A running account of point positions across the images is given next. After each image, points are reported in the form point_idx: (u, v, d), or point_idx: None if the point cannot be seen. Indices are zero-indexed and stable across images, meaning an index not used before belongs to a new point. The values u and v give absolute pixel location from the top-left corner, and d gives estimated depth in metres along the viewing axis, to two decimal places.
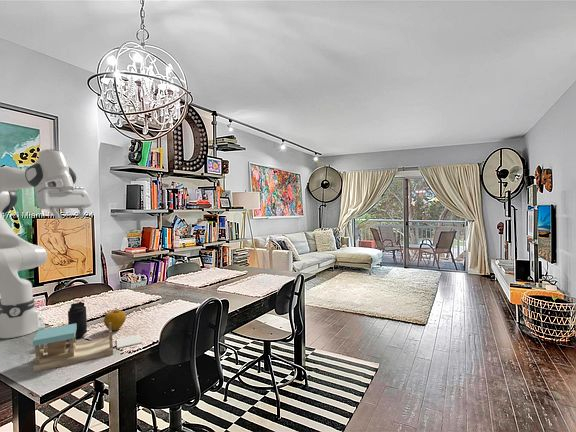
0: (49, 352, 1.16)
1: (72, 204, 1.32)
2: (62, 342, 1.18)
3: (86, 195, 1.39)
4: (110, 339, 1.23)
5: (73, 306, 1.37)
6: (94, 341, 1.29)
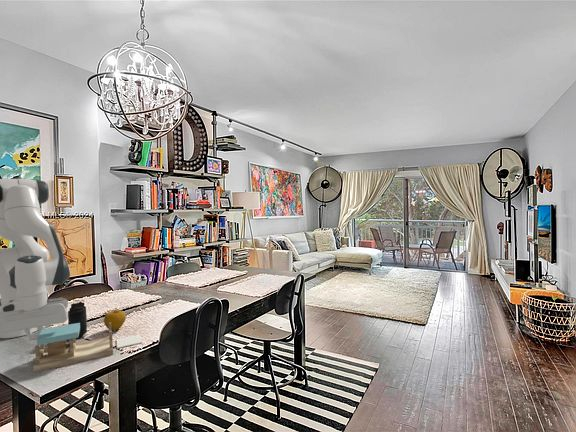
0: (49, 352, 1.16)
1: (36, 325, 1.14)
2: (62, 342, 1.18)
3: (61, 310, 1.18)
4: (110, 339, 1.23)
5: (73, 306, 1.37)
6: (94, 341, 1.29)
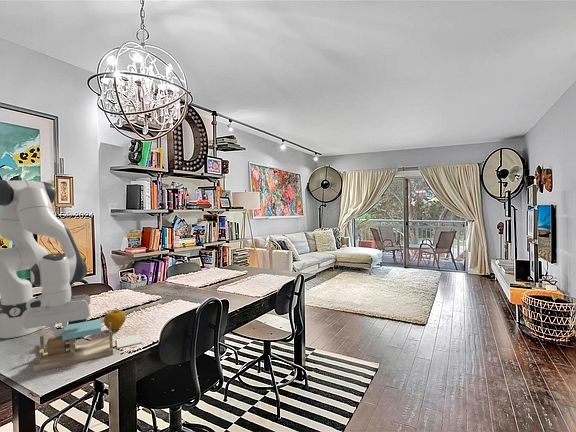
0: (49, 352, 1.16)
1: (61, 321, 1.18)
2: (62, 342, 1.18)
3: (84, 307, 1.21)
4: (110, 339, 1.23)
5: None
6: (94, 341, 1.29)
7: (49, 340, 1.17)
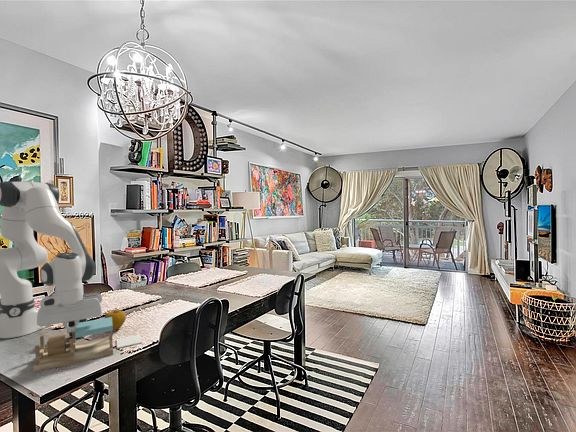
0: (49, 352, 1.16)
1: (74, 319, 1.20)
2: (62, 342, 1.18)
3: (96, 305, 1.23)
4: (110, 339, 1.23)
5: None
6: (94, 341, 1.29)
7: (49, 340, 1.17)
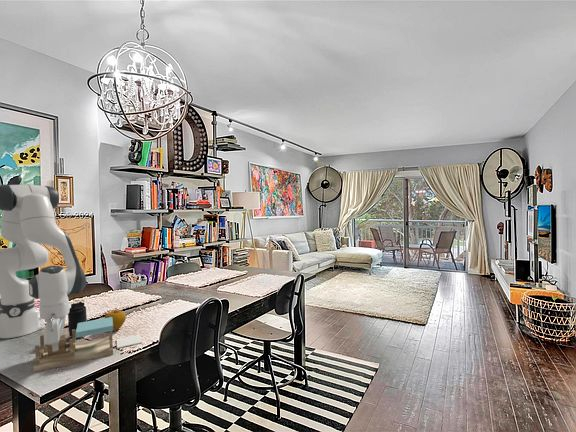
0: (49, 352, 1.16)
1: None
2: (62, 342, 1.18)
3: None
4: (110, 339, 1.23)
5: (73, 306, 1.37)
6: (94, 341, 1.29)
7: None
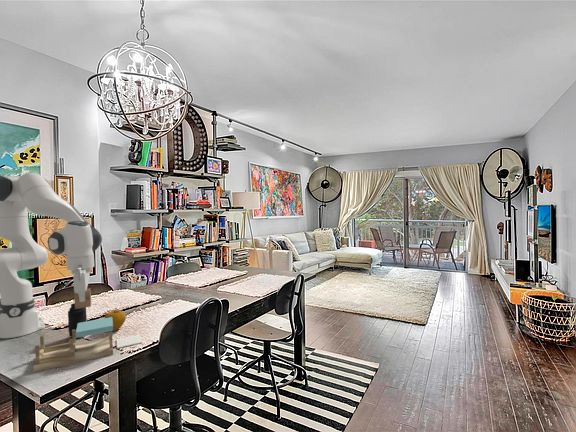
0: (76, 303, 1.20)
1: None
2: (88, 294, 1.22)
3: None
4: (110, 339, 1.23)
5: (73, 306, 1.37)
6: (94, 341, 1.29)
7: None
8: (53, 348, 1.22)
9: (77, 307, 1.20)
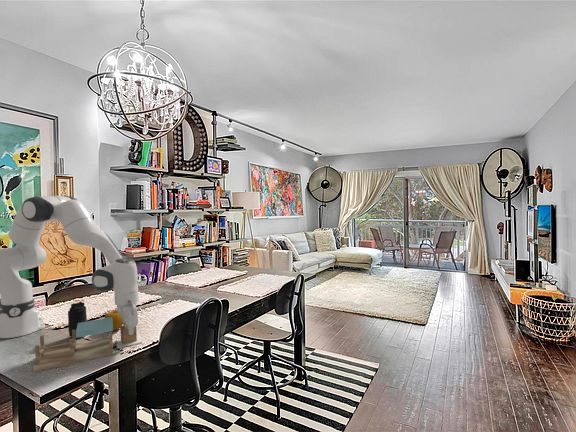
0: (124, 338, 1.30)
1: (123, 320, 1.31)
2: (135, 329, 1.32)
3: (127, 315, 1.24)
4: (110, 339, 1.23)
5: (73, 306, 1.37)
6: (94, 341, 1.29)
7: (123, 328, 1.31)
8: (53, 348, 1.22)
9: (125, 342, 1.30)
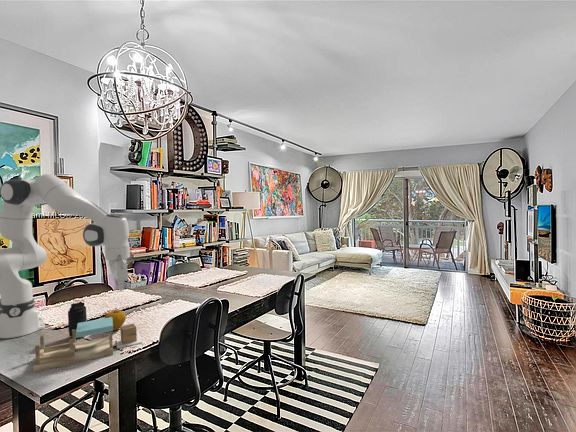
0: (124, 338, 1.30)
1: (114, 276, 1.28)
2: (135, 329, 1.32)
3: (116, 269, 1.22)
4: (110, 339, 1.23)
5: (73, 306, 1.37)
6: (94, 341, 1.29)
7: (123, 328, 1.31)
8: (53, 348, 1.22)
9: (125, 342, 1.30)
